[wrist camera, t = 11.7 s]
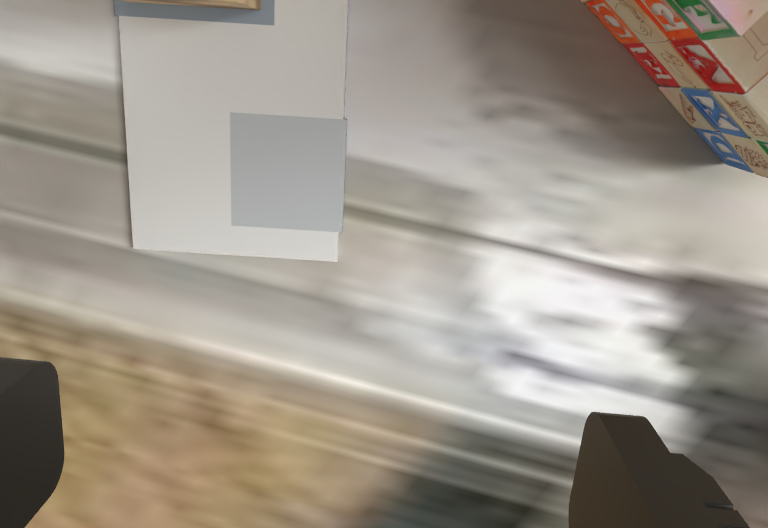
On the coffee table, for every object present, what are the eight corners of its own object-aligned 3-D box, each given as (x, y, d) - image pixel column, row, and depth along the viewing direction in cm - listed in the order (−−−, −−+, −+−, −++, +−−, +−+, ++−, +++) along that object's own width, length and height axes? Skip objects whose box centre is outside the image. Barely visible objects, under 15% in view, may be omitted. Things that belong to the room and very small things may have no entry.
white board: (359, -170, 31) (358, -173, 31) (341, 259, 38) (340, 261, 37) (105, -186, 31) (101, -190, 31) (132, 246, 38) (129, 248, 37)
